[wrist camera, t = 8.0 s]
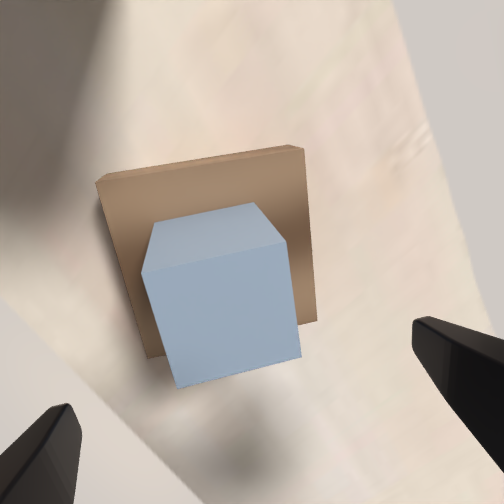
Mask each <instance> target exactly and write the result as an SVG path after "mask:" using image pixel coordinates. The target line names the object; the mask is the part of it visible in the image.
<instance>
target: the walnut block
mask: <svg viewBox="0 0 504 504" xmlns="http://www.w3.org/2000/svg"><path fill="white" fill-rule="evenodd" d="M95 184H96V187H97V191H98V194H99V197H100V201H101V204H102V207H103V211H104V214H105V217H106V221H107V224H108V227H109V231H110V234H111V237H112V241H113V244H114V248H115V251H116V254H117V258H118V261H119V264H120V268H121V271H122V274H123V278H124V281H125V284H126V288H127V291H128V294H129V298H130V301H131V304H132V308H133V311H134V314H135V318H136V321H137V325H138V328H139V331H140V335H141V338H142V341H143V345H144V348H145V351H146V355H147V358H148V359H150V358H154V357H159V356H163V355H166V352H165V348H164V345H163V342H162V339H161V336H160V332H159V329H158V326H157V323H156V320H155V316H154V313H153V310H152V307H151V304H150V300H149V297H148V294H147V291H146V288H145V284H144V281H143V278H142V275H141V272H142V268H143V264H144V260H145V256H146V253H147V249H148V245H149V241H150V238H151V234H152V230H153V226H154V223H155V222H160V221H164V220H169V219H174V218H179V217H184V216H189V215H194V214H198V213H203V212H208V211H213V210H218V209H223V208H228V207H232V206H237V205H242V204H247V203H252V202H254V203H255V204H256V205H257V206H258V208H259V209H260V210H261V211H262V213H263V214H264V215H265V216H266V217H267V219H268V220H269V221H270V222H271V224H272V225H273V226H274V227H275V228H276V230H277V231H278V232H279V233H280V234H281V236H282V237H283V238H284V239H285V241H286V244H287V251H288V259H289V266H290V273H291V281H292V288H293V296H294V303H295V311H296V318H297V325H301V324H306V323H310V322H315V321H317V310H316V297H315V284H314V271H313V258H312V245H311V232H310V219H309V206H308V193H307V180H306V167H305V154H304V148H300V147H296V146H292V145H283V146H277V147H271V148H265V149H258V150H252V151H246V152H240V153H233V154H227V155H221V156H215V157H208V158H202V159H196V160H190V161H183V162H177V163H171V164H165V165H158V166H152V167H146V168H140V169H133V170H127V171H121V172H115V173H108V174H106V175H104V176H103V177H102V178H100V179H99V180H98V181H96V182H95Z"/></svg>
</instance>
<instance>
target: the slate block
mask: <svg viewBox="0 0 504 504" xmlns="http://www.w3.org/2000/svg"><path fill="white" fill-rule="evenodd" d="M141 275H142V278H143V281H144V284H145V288H146V291H147V294H148V297H149V300H150V304H151V307H152V310H153V313H154V316H155V320H156V323H157V326H158V329H159V332H160V336H161V339H162V342H163V345H164V348H165V352H166V355H167V358H168V361H169V364H170V368H171V371H172V374H173V377H174V380H175V384H176V387H177V389H180V388H184V387H187V386H191V385H195V384H199V383H203V382H207V381H211V380H215V379H218V378H222V377H226V376H230V375H234V374H238V373H242V372H246V371H250V370H253V369H257V368H261V367H265V366H269V365H273V364H277V363H281V362H285V361H288V360H292V359H296V358H300V357H302V355H301V348H300V340H299V333H298V326H297V318H296V311H295V303H294V296H293V288H292V281H291V273H290V266H289V259H288V251H287V244H286V241H285V239H284V238H283V237H282V236H281V234H280V233H279V232H278V231H277V230H276V228H275V227H274V226H273V225H272V224H271V222H270V221H269V220H268V219H267V217H266V216H265V215H264V214H263V213H262V211H261V210H260V209H259V208H258V206H257V205H256V204H255V203H254V202H252V203H247V204H242V205H237V206H232V207H228V208H223V209H218V210H213V211H208V212H203V213H198V214H194V215H189V216H184V217H179V218H174V219H169V220H164V221H160V222H155V223H154V226H153V230H152V234H151V238H150V241H149V245H148V249H147V253H146V256H145V260H144V264H143V268H142V272H141Z"/></svg>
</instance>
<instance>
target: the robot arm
mask: <svg viewBox="0 0 504 504" xmlns="http://www.w3.org/2000/svg"><path fill="white" fill-rule="evenodd" d="M412 348H413V351H414V353H415V355H416V356H417V358H418V359H419V361H420V362H421V364H422V365H423V367H424V368H425V370H426V371H427V373H428V375H429V376H430V378H431V379H432V381H433V382H434V384H435V385H436V387H437V388H438V390H439V391H440V393H441V394H442V396H443V397H444V399H445V400H446V401H447V403H448V404H449V405H450V407H451V408H452V409H453V411H454V412H455V413H456V414H457V416H458V417H459V418H460V419H461V420H462V422H463V423H464V424H465V425H466V427H467V428H468V429H469V430H470V432H471V433H472V434H473V435H474V437H475V438H476V439H477V440H478V442H479V443H480V444H481V445H482V447H483V448H484V449H485V450H486V452H487V453H488V454H489V455H490V457H491V458H492V459H493V460H494V462H495V463H496V464H497V465H498V466H499V468H500V469H501V470H502V471H503V473H504V340H503V339H500V338H496V337H493V336H490V335H487V334H484V333H481V332H478V331H474V330H471V329H468V328H465V327H462V326H459V325H456V324H452V323H449V322H446V321H443V320H440V319H437V318H434V317H430V316H426V317H421V318H417V319H415V320H414V321H413V324H412ZM81 441H82V430H81V426H80V424H79V422H78V419H77V417H76V415H75V413H74V411H73V408H72V406H71V405H70V404H68V403H64V404H61V405H56V406H52V407H50V408H49V409H48V410H47V411H46V412H45V413H44V414H43V415H42V416H40V417H39V418H38V419H37V420H36V421H35V422H34V423H33V424H32V425H31V426H30V427H29V428H28V429H27V430H26V431H25V432H24V433H23V434H22V435H21V436H20V437H19V438H18V439H17V440H16V441H15V442H13V444H11V445H10V447H8V448H7V449H6V450H5V451H4V452H3V453H2V454H1V455H0V504H73V502H74V495H75V489H76V480H77V473H78V465H79V457H80V448H81Z"/></svg>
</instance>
